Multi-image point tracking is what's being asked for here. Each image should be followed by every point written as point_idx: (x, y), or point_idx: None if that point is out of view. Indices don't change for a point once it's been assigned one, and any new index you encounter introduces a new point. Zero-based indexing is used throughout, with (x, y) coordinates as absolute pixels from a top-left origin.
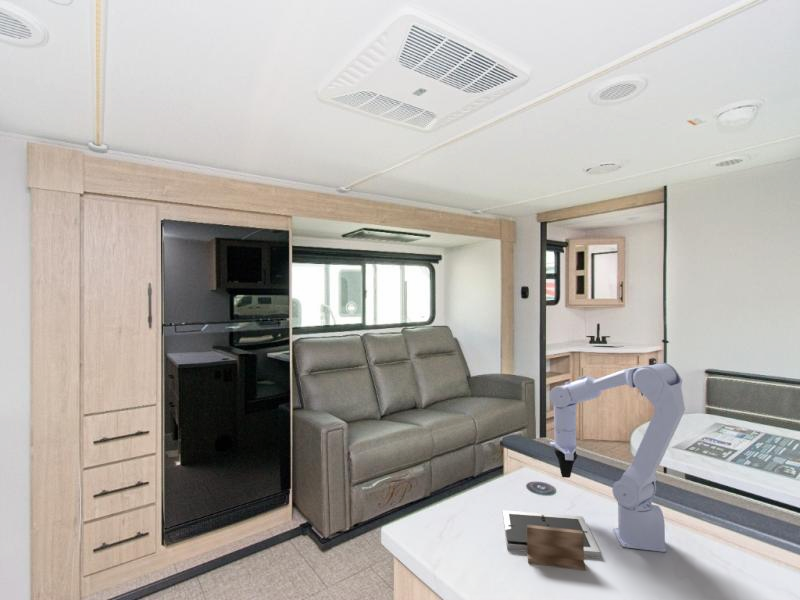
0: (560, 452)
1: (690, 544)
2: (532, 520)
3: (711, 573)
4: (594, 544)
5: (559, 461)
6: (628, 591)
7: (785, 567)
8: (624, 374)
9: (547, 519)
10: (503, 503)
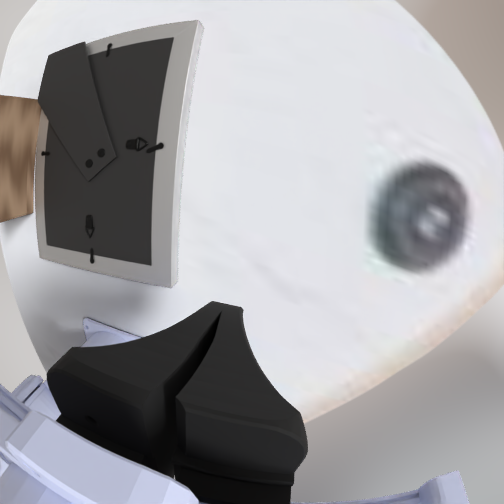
0: (102, 426)
1: None
2: (130, 107)
3: None
4: (55, 257)
5: (123, 343)
6: (6, 259)
7: None
8: None
9: (137, 158)
10: (292, 35)
